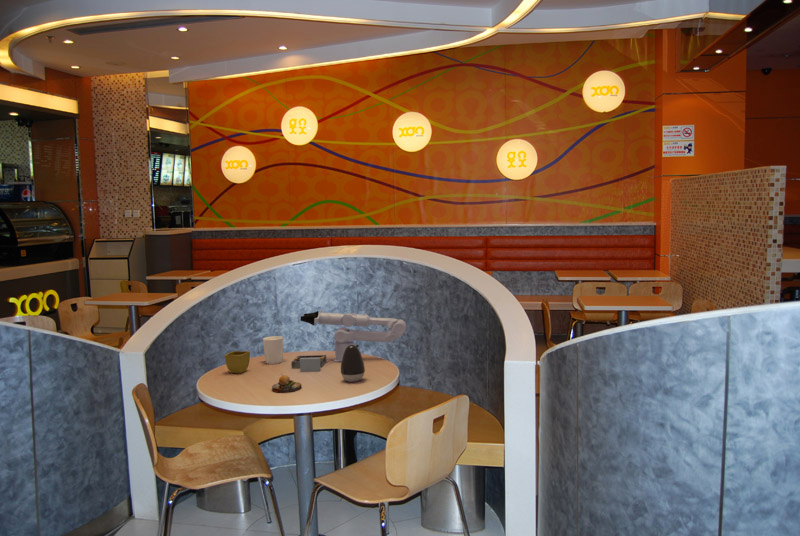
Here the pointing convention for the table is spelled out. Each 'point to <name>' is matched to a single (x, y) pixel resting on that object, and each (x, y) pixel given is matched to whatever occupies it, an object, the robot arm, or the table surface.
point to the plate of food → (286, 385)
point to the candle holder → (273, 349)
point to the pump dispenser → (352, 364)
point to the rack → (297, 360)
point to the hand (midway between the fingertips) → (302, 317)
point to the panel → (310, 364)
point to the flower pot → (237, 361)
